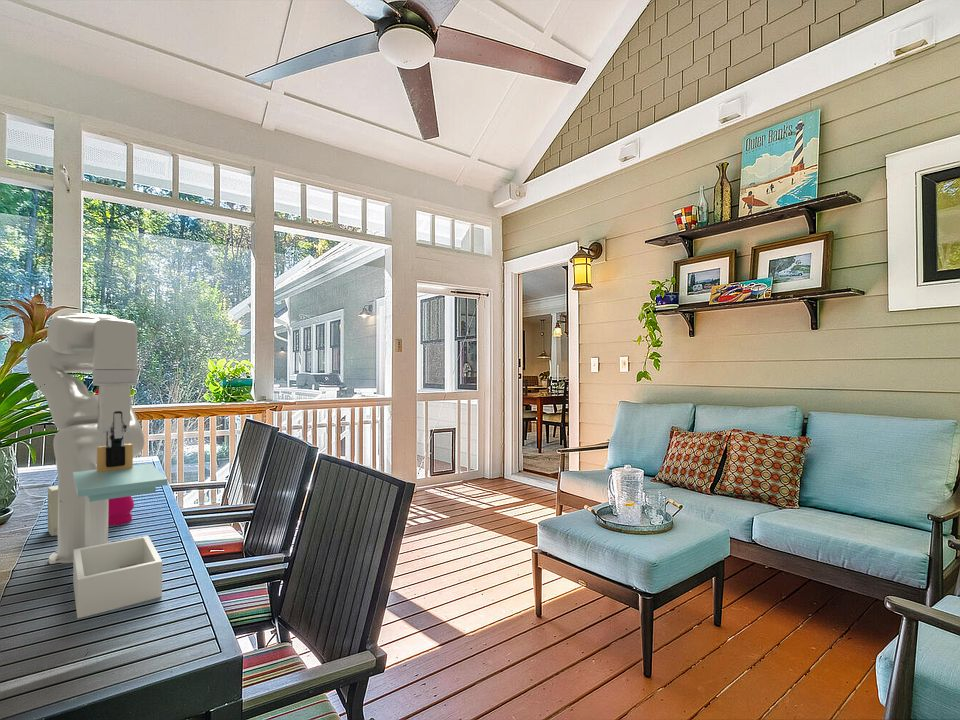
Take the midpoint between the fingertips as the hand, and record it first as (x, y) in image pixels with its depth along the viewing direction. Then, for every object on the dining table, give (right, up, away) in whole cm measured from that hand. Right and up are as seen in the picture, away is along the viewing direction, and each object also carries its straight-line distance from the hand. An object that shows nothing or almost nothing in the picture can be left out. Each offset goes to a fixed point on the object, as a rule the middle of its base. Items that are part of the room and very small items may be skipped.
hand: (115, 464), depth 105 cm
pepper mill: (-27, -25, +38) cm, 53 cm away
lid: (+5, -4, -6) cm, 8 cm away
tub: (+3, -25, -4) cm, 26 cm away
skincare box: (-37, -25, +30) cm, 53 cm away
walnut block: (+3, -24, 0) cm, 24 cm away
